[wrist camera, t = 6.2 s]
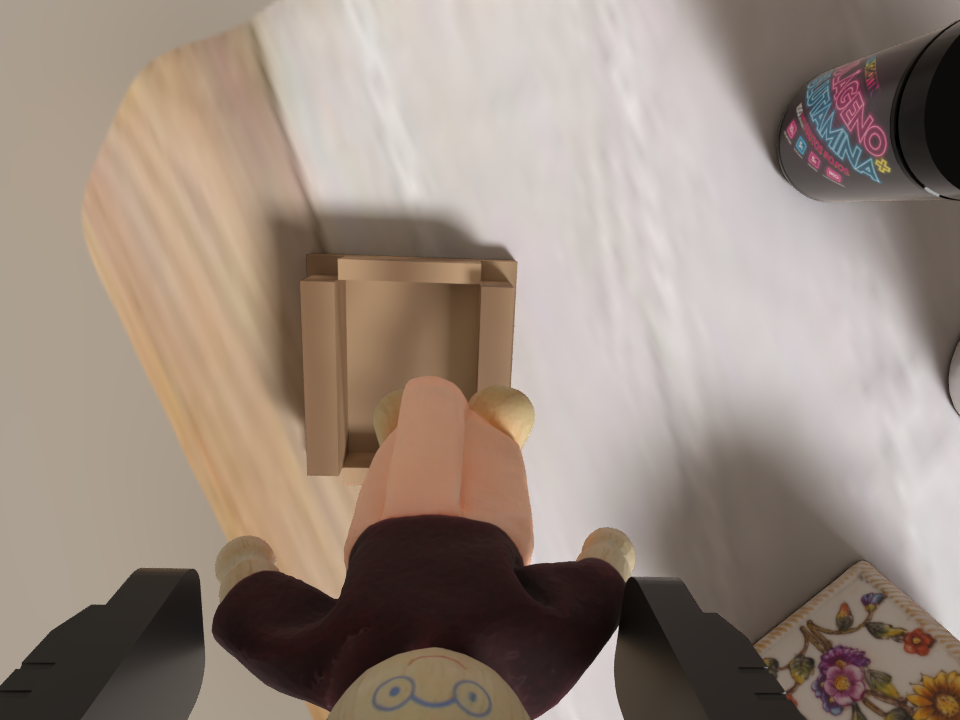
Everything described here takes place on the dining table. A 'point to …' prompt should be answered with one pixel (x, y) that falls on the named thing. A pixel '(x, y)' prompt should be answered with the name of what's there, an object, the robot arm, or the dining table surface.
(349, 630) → the grandmother figurine
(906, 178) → the supplement container
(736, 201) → the dining table surface
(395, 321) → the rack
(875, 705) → the decorative jar
